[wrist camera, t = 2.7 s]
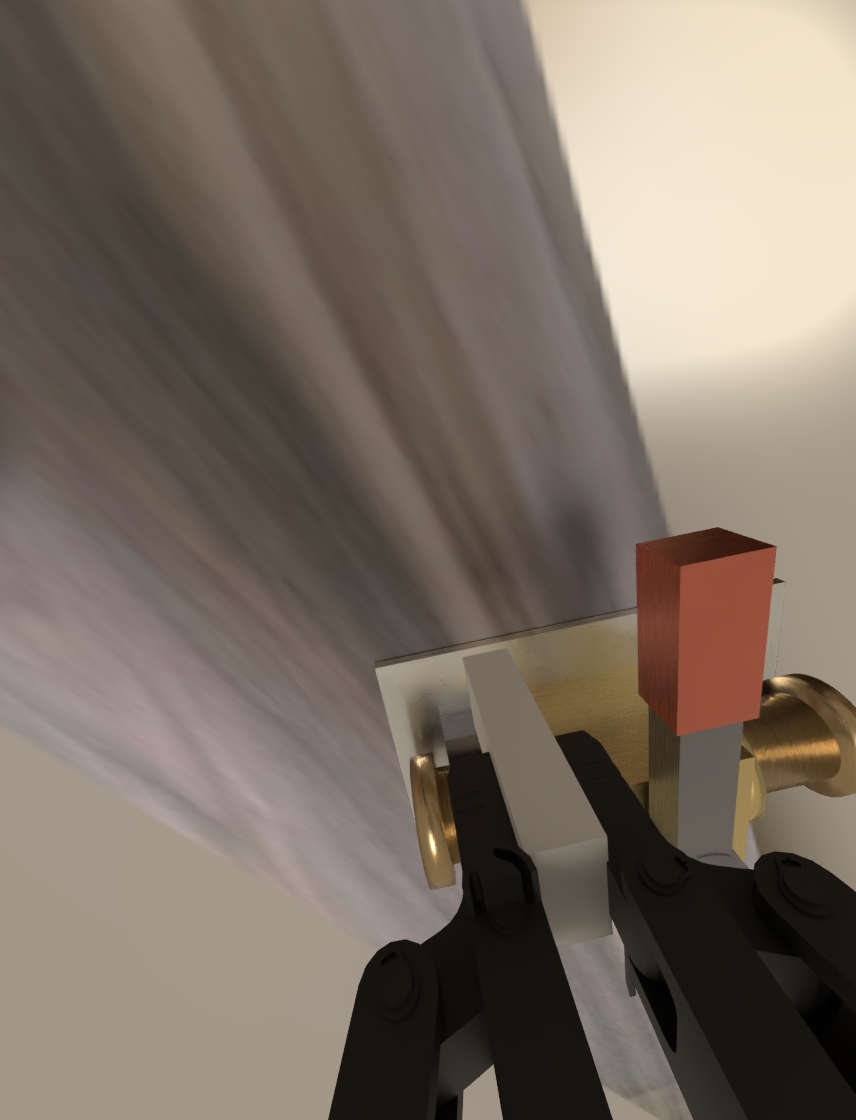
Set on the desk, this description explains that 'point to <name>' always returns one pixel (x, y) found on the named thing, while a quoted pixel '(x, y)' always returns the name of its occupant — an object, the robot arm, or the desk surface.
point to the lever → (701, 678)
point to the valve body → (604, 721)
